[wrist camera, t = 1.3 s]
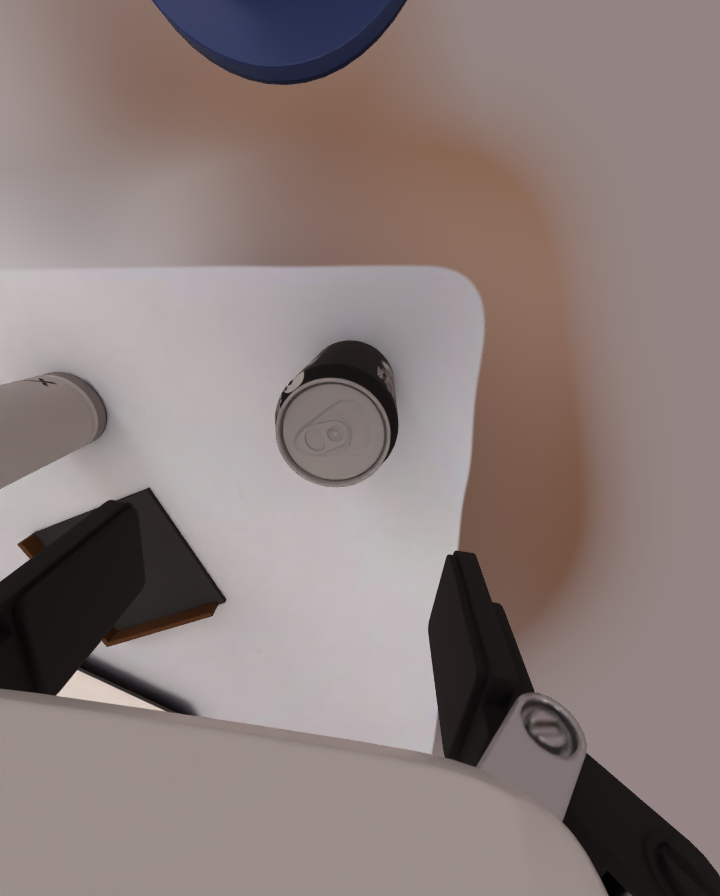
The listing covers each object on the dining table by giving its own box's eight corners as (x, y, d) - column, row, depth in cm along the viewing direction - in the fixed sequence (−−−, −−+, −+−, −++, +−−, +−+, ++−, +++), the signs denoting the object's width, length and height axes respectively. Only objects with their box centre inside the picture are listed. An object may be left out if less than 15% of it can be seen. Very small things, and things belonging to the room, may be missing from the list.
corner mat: (34, 532, 37) (16, 544, 36) (149, 487, 35) (136, 498, 33) (118, 632, 42) (107, 647, 40) (226, 599, 39) (218, 614, 37)
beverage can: (404, 407, 30) (416, 474, 19) (328, 432, 32) (298, 509, 20) (377, 326, 28) (373, 349, 17) (297, 356, 29) (244, 396, 18)
